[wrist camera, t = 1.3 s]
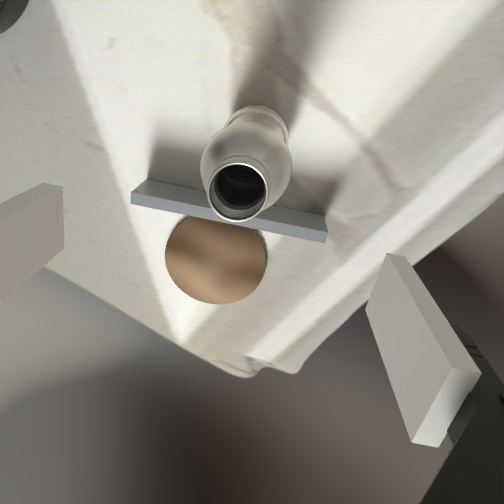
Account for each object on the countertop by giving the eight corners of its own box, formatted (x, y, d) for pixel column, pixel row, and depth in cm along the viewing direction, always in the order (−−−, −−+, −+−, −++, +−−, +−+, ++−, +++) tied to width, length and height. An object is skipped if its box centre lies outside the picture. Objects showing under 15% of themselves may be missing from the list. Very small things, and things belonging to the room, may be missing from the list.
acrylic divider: (146, 179, 43) (131, 192, 39) (323, 215, 44) (328, 232, 39) (145, 189, 44) (130, 203, 39) (320, 225, 44) (325, 243, 40)
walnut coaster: (171, 202, 44) (170, 204, 44) (275, 223, 45) (275, 225, 44) (162, 291, 49) (160, 293, 49) (255, 309, 50) (254, 312, 49)
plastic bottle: (212, 141, 41) (158, 200, 23) (253, 87, 39) (230, 107, 21) (258, 180, 43) (243, 265, 25) (301, 131, 40) (319, 186, 22)
